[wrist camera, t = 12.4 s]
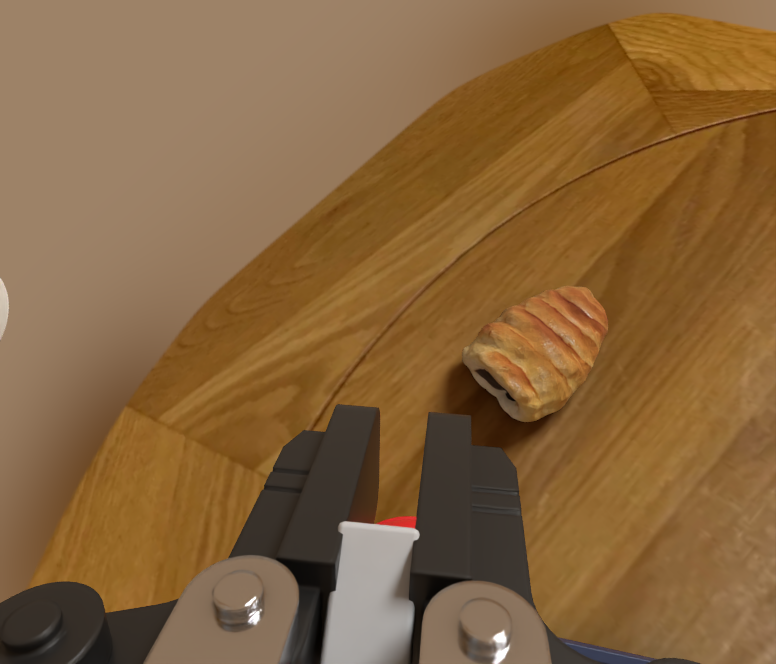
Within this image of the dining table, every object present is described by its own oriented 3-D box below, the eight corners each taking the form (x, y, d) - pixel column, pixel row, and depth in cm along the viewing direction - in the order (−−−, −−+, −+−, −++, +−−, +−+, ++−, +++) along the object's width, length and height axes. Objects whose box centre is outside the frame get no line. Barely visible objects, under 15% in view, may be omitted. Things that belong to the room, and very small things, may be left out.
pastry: (550, 273, 40) (562, 246, 36) (629, 341, 38) (650, 319, 34) (452, 364, 38) (455, 344, 34) (529, 439, 36) (540, 427, 32)
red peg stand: (331, 673, 20) (93, 843, 6) (350, 520, 22) (208, 374, 8) (480, 692, 19) (612, 928, 5) (485, 533, 21) (589, 402, 7)
